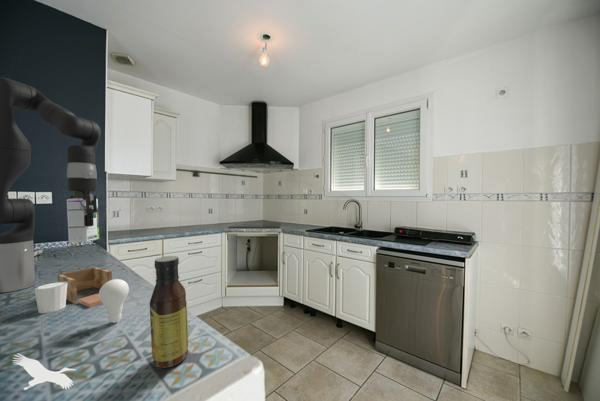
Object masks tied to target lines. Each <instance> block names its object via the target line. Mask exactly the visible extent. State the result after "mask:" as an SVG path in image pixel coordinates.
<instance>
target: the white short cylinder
mask: <svg viewBox="0 0 600 401" xmlns="http://www.w3.org/2000/svg"><path fill="white" fill-rule="evenodd" d="M67 284H68V283H67V282H58V281H55V282H51V283H47V284H42V285H39V286H37V287H35V288H34V289H33V290H34V293H35V294H34V295H35V299H36V300H35V302H36V306H37V312H38V314H49V313H53V312H54V313H55V312H56V311H60V310H61V309H64V308H65V307H66V306H67V304H66V303H67V300H66V296H67Z"/></svg>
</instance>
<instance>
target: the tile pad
mask: <svg viewBox="0 0 600 401" xmlns="http://www.w3.org/2000/svg"><path fill="white" fill-rule="evenodd" d="M78 303H79V304H80V305H83V306H85V307H87V308H88V309H90V308H94V307H97V306H101V305H104V304H103V303H102V301H101V300H100V298H99V292H98V293H95V294H91V295H88V296H84V297H81V298H79V299H78Z"/></svg>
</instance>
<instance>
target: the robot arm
mask: <svg viewBox="0 0 600 401" xmlns="http://www.w3.org/2000/svg"><path fill="white" fill-rule="evenodd" d="M14 108H15V109H19V110H21V111H30V112H34V113H37V114H38V115H39V117H40V118H41V119H42V120H43V121H45V122H46V123H47V124H49V125H51V126H53V127H55V128H56V130H57V131H58V132H59V133H60V134H62V135H64V136H66V137H68V138H72V139H73V138H74V139H78V140H81V143H80V144H78V145H77V144H76V145H73V144H72V145H70V146H68V147H67V150H66V151H67V153H66V154H67V155H66V156H67V157H66V158H67V166H66V186H67V188H66V189H67V191H68V192H74V194H73V195H70V197H69V199H72V198H83V200H85V201H86V206H84V205H83V204H82V203H81V202H80V209H81V210H83V213H84V226H93V214H94V213H96V212H97V202H96V198H97V195H96V194H92V193H93V192H97V191H98V175H97V173H98V171H97V167H96V151H97V148H98V145H99V142H100V139H101V136H102V129H101V127H100V125H99V124H98V123H97V122H96V121H93V120H90V119H87V118H83V117H81V116H80V117H79V116H77V115H76V114H74V112H72V111H70V110H68V109H67V108H65V107H62V106H61V105H59V104H57V103H55V102H54V101H51V100H50V99H49V98H48V97H46V96H45V95H44V94H43V93H42V92H41V91H39V90H38V89H37V88H35V87H33V86H30V85H28V84H25V83H22V82H20V81H18V80H17V81H16V80H13V79H11V78H8V77H5V76H4V77H3V76H0V225H11V224H15V225H14V227H13V228H11V229H10V230H7V231H5V232H3V233H0V293H1V294H2V293H10V292H16V291H21V290H25V289H28V288H31V287H33V286H35V285H36V281H35V278H36V277H35V274H36V272H35V258H34V257H35V256H34V255H35V253H34V252H35V251H34V250H35V249H34V234H35V226H36V225H35V222H36V221H35V219H36V210H35V209H36V208H35V205H34V204H35V203H34V202H33V201H32V200H31V199H29V198H8V194H9V191H10V188H12V185H13V184H14V183H15V181H16V180H17V179H19V177H20V176H21V175H23V174H24V173H25V172H26V171H27V169H28V168H29V167H30V165H31V159H32V158H31V157H32V147H31V144H30V142H29V140H28V138H27V137H26V136H25V134H24V133H23V132H22V130H21V129H20V128H19V126H18V124H17V123H16V120H15V118H14V111H13V109H14ZM78 201H79V200H78Z"/></svg>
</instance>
